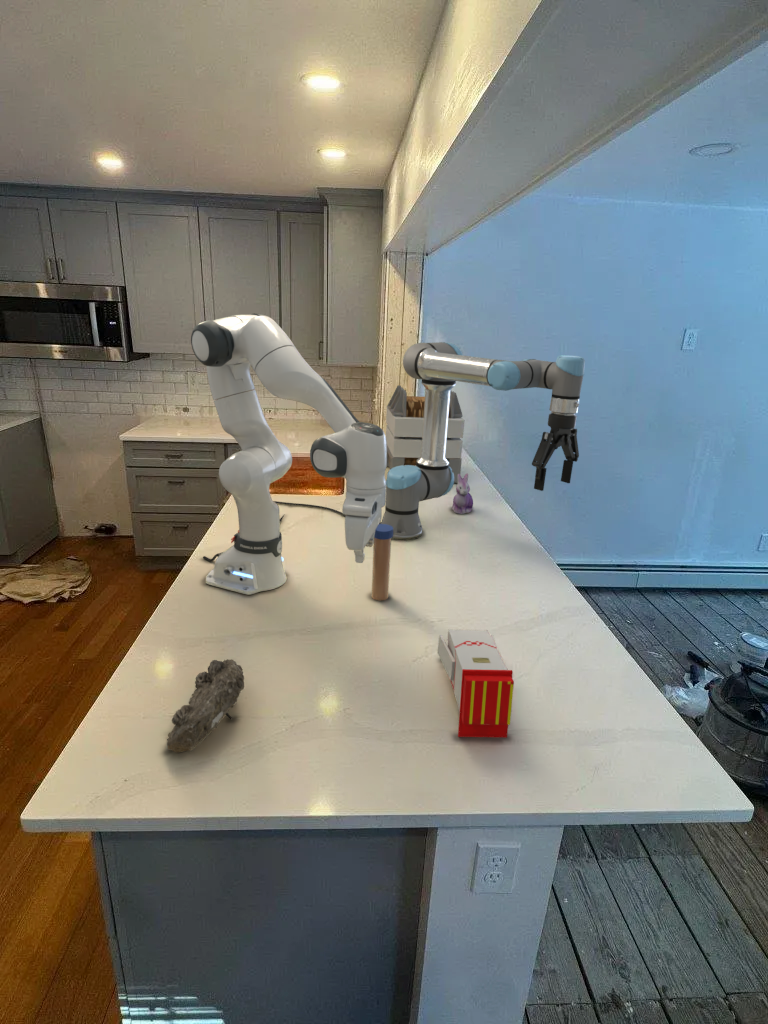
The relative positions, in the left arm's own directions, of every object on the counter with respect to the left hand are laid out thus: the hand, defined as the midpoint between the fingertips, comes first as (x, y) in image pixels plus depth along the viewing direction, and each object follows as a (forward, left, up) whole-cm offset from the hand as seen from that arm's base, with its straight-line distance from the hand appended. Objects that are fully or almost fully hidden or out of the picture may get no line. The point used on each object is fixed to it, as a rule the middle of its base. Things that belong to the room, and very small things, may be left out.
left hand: (364, 553), depth 131 cm
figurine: (+17, +98, -21) cm, 102 cm away
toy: (+27, -16, -21) cm, 38 cm away
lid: (0, +19, -1) cm, 19 cm away
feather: (-47, +68, -21) cm, 85 cm away
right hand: (+44, +48, +7) cm, 66 cm away
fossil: (-20, -37, -21) cm, 47 cm away
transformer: (-7, +147, -21) cm, 148 cm away
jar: (0, +19, -21) cm, 29 cm away
